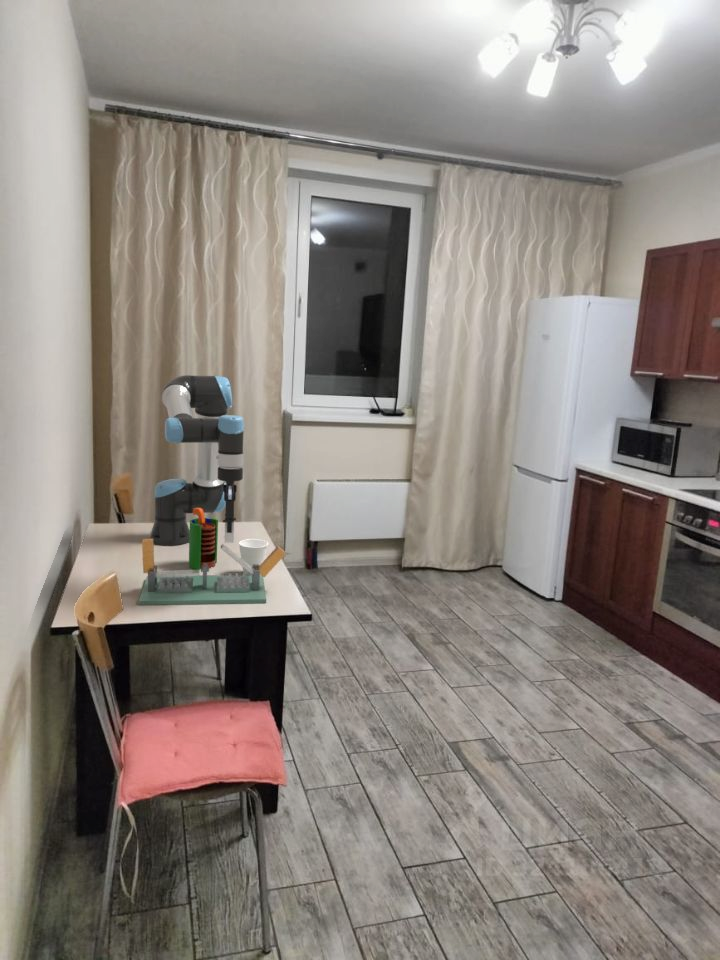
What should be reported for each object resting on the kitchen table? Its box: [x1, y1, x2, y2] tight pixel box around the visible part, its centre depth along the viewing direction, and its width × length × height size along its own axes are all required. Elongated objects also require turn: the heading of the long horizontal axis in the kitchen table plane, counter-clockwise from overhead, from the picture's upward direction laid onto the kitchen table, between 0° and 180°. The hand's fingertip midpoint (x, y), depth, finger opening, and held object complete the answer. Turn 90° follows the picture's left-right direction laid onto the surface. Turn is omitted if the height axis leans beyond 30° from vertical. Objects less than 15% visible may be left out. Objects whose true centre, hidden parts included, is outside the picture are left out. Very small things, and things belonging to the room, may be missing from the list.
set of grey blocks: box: [147, 563, 260, 594], centre depth 216 cm, size 10×33×7 cm, turn 101°
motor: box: [188, 508, 219, 571], centre depth 239 cm, size 10×9×20 cm
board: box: [138, 574, 267, 606], centre depth 217 cm, size 22×37×1 cm, turn 101°
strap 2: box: [220, 543, 286, 578], centre depth 217 cm, size 16×3×12 cm
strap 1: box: [141, 538, 201, 578], centre depth 213 cm, size 16×3×12 cm, turn 100°
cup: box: [238, 538, 269, 575], centre depth 233 cm, size 10×10×11 cm
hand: (229, 541), depth 215 cm, fingers closed
